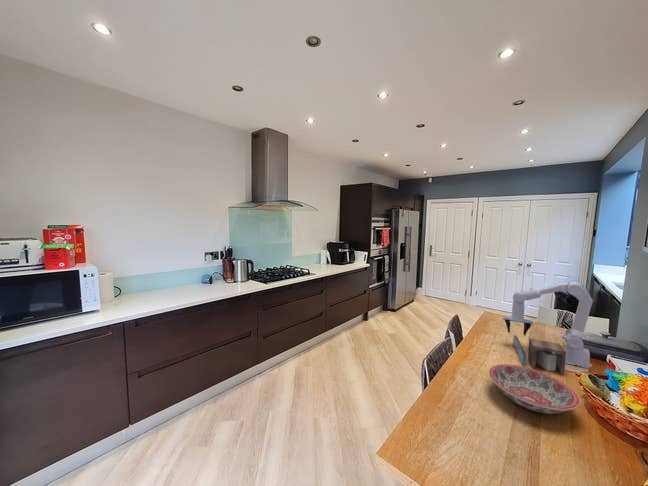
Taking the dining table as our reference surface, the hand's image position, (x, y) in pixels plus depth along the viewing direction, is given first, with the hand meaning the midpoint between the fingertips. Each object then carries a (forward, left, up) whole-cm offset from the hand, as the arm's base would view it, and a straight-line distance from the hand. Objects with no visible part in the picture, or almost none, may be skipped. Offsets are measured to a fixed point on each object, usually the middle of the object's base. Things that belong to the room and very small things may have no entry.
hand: (516, 333), depth 152 cm
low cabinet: (-10, +19, -8) cm, 23 cm away
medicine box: (-10, +19, -9) cm, 23 cm away
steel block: (0, +10, -9) cm, 13 cm away
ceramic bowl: (+4, +56, -9) cm, 57 cm away
